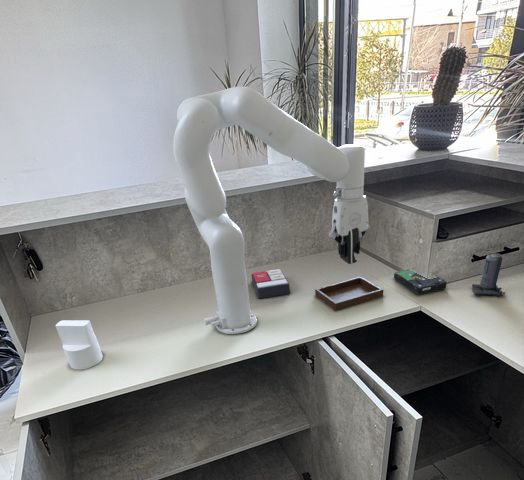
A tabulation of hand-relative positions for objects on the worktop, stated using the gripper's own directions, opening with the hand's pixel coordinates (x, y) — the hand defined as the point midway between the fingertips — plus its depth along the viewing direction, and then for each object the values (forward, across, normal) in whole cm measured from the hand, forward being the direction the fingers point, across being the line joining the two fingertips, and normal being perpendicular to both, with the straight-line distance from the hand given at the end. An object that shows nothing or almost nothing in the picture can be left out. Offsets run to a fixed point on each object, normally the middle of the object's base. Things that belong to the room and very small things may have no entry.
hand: (349, 253), depth 133 cm
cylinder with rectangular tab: (+14, -82, +7) cm, 84 cm away
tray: (+15, 0, 0) cm, 15 cm away
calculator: (+15, -18, +21) cm, 32 cm away
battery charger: (+2, 0, 0) cm, 2 cm away
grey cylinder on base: (+15, +36, -21) cm, 44 cm away
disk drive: (+15, +24, -5) cm, 29 cm away
